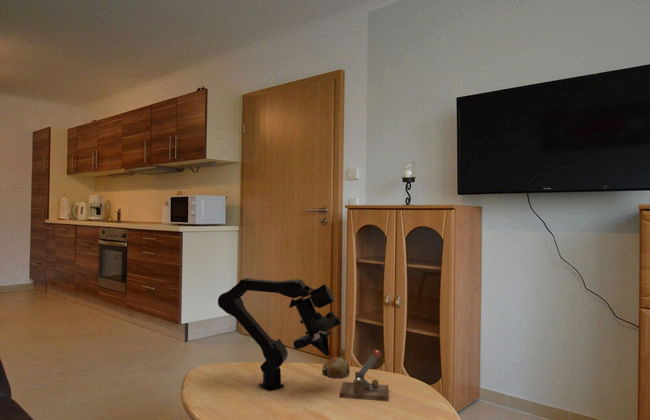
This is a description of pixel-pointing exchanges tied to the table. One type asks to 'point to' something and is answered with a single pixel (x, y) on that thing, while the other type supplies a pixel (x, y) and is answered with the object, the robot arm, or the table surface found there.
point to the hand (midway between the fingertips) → (328, 355)
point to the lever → (367, 367)
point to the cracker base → (364, 390)
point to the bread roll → (336, 368)
